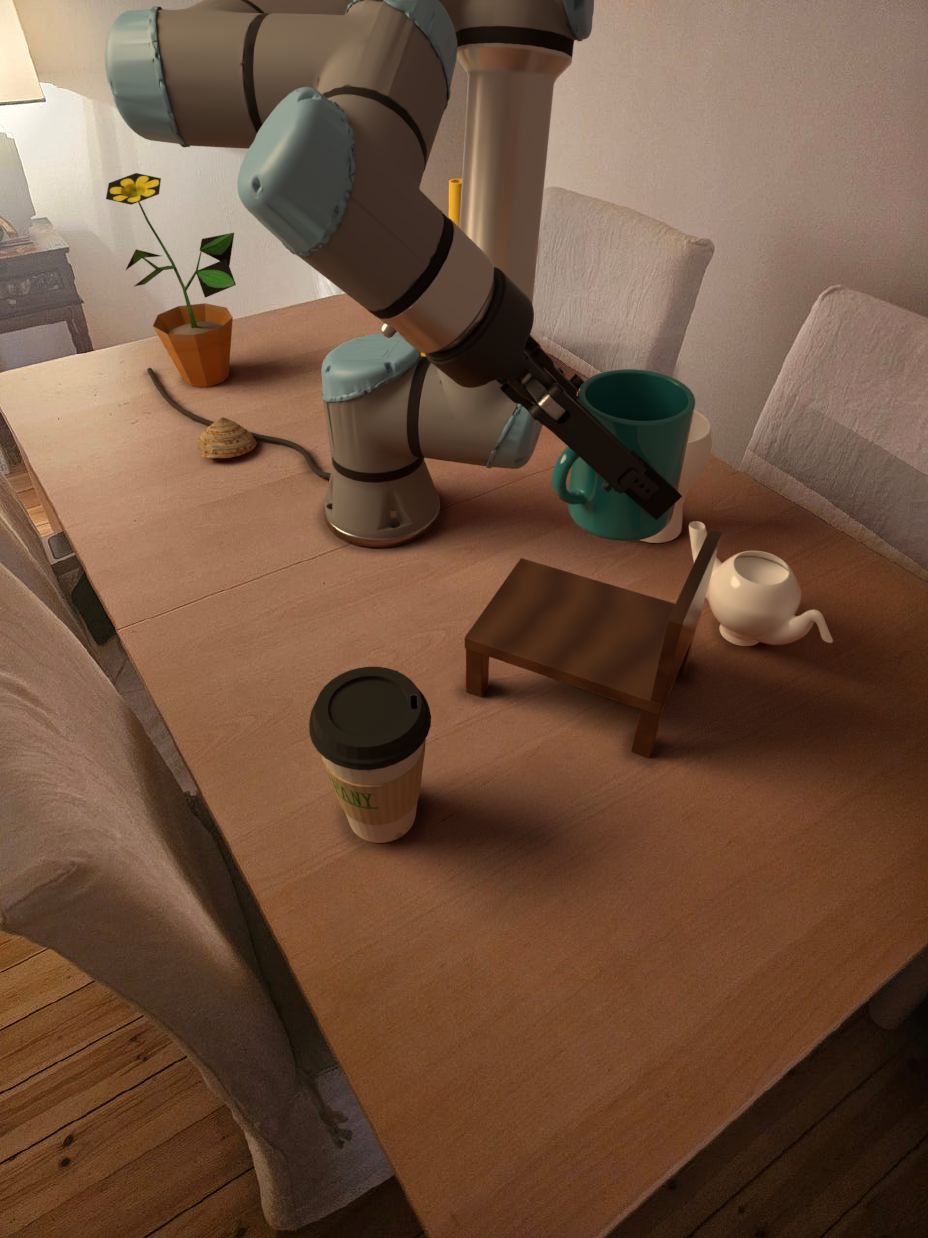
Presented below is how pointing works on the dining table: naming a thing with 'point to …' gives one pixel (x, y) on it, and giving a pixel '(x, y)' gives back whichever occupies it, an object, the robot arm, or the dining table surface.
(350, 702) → the coffee cup
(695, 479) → the cup
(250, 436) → the seashell
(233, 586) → the dining table surface
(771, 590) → the teapot
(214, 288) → the potted plant
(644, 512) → the cup
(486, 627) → the wooden toy chair
